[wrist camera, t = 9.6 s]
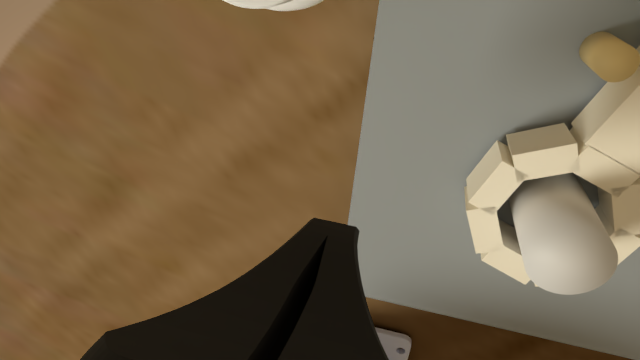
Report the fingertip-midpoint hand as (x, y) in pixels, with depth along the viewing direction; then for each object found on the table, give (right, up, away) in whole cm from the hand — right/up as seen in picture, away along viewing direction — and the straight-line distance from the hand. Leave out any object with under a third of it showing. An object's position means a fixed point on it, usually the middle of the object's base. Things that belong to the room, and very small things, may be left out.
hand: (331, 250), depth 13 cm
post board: (+9, +2, +7) cm, 12 cm away
